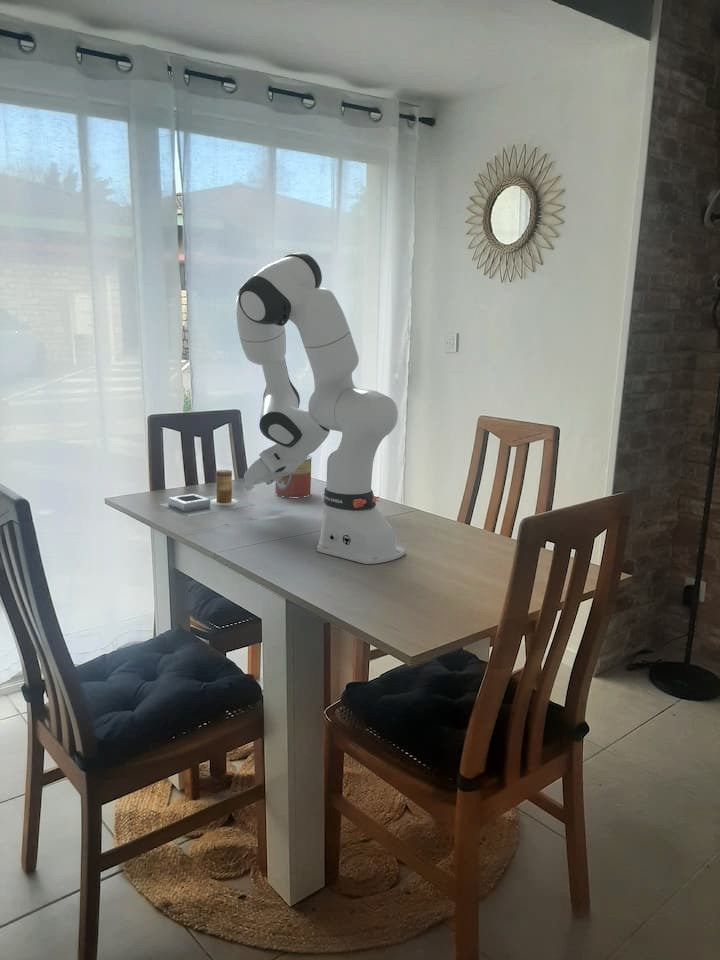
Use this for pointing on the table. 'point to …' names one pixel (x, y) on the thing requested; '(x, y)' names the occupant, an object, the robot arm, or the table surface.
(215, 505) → the base plate
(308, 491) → the canned food
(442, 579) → the table surface
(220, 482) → the plug
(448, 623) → the table surface
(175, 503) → the collar
